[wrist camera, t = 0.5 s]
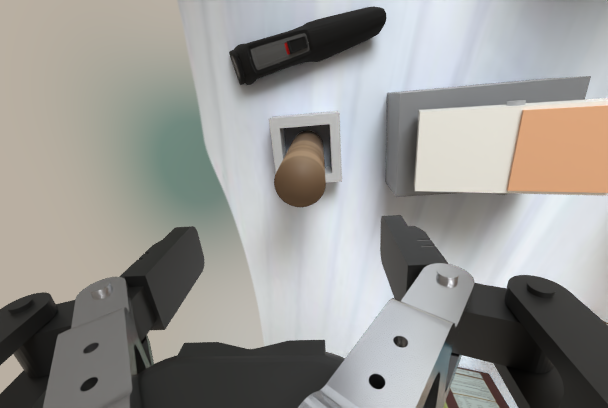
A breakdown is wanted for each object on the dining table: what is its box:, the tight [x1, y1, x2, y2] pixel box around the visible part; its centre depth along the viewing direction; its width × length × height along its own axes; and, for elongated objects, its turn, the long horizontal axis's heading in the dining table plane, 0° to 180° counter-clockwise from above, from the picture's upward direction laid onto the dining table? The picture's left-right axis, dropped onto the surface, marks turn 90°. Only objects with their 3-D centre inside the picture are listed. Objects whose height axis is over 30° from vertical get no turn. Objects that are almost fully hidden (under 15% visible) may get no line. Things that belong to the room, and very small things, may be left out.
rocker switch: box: [414, 98, 608, 196], centre depth 23 cm, size 8×14×2 cm, turn 95°
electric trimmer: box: [229, 7, 386, 85], centre depth 28 cm, size 4×16×3 cm, turn 106°
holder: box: [269, 111, 342, 183], centre depth 31 cm, size 7×7×3 cm
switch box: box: [386, 76, 591, 197], centre depth 28 cm, size 10×16×7 cm, turn 95°
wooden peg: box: [274, 130, 326, 207], centre depth 26 cm, size 4×4×14 cm
